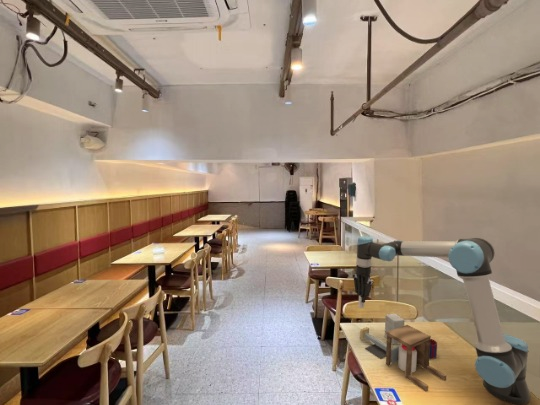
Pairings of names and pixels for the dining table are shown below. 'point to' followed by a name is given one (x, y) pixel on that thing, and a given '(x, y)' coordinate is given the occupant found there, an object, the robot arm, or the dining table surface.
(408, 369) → the tunnel
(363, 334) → the plunger
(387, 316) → the small box
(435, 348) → the mug
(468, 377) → the dining table surface
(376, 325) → the dining table surface
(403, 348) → the pill bottle
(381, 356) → the mat
